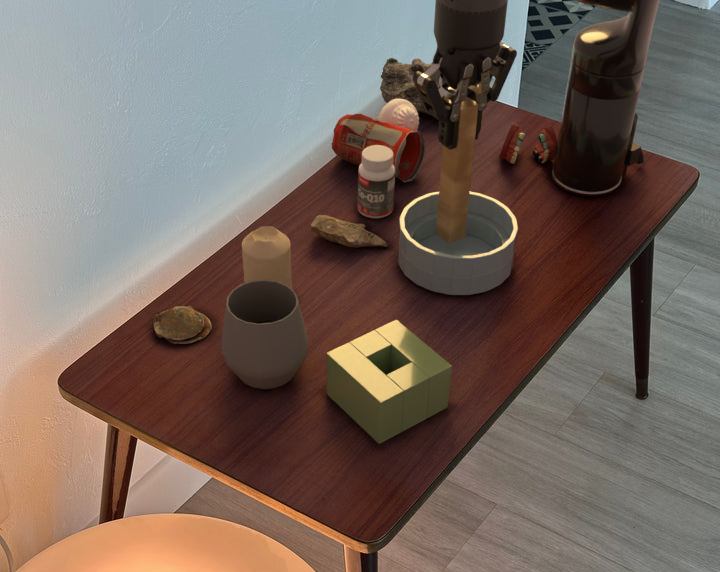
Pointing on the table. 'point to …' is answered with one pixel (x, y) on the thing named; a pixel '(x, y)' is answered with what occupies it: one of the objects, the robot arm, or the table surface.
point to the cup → (264, 333)
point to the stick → (457, 177)
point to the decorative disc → (181, 325)
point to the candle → (267, 256)
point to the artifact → (345, 232)
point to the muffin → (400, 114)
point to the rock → (402, 81)
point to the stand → (388, 380)
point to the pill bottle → (376, 182)
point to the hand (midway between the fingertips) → (458, 141)
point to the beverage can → (379, 143)
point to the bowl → (457, 246)
